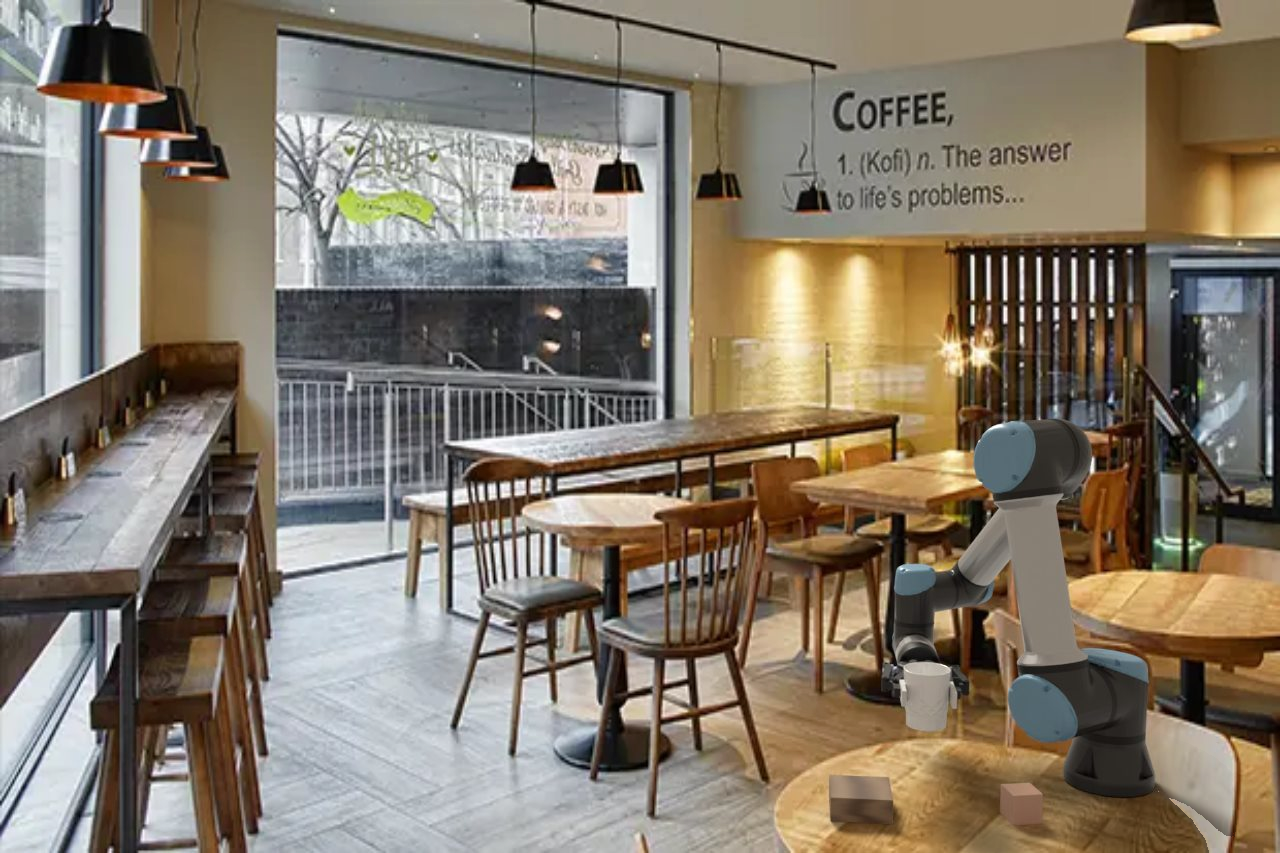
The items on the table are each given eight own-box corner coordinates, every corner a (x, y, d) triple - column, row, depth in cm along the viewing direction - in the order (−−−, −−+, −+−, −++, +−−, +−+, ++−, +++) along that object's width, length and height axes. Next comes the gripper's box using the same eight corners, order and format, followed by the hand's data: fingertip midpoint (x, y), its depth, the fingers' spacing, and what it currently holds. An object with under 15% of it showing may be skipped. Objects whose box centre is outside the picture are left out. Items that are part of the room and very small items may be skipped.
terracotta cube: (1028, 811, 211) (1029, 782, 211) (1042, 823, 206) (1043, 794, 206) (999, 813, 211) (1000, 784, 210) (1012, 825, 206) (1013, 795, 205)
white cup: (950, 734, 213) (951, 676, 212) (902, 731, 215) (903, 673, 214) (948, 719, 221) (950, 663, 220) (902, 716, 223) (903, 660, 222)
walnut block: (888, 800, 216) (888, 777, 216) (892, 824, 206) (893, 800, 206) (828, 797, 217) (829, 774, 217) (830, 821, 207) (830, 797, 207)
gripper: (973, 682, 234) (991, 724, 212) (861, 678, 237) (867, 719, 214) (974, 643, 233) (992, 680, 211) (862, 639, 236) (867, 675, 213)
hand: (929, 700), depth 213 cm, fingers closed on white cup, 7 cm apart
